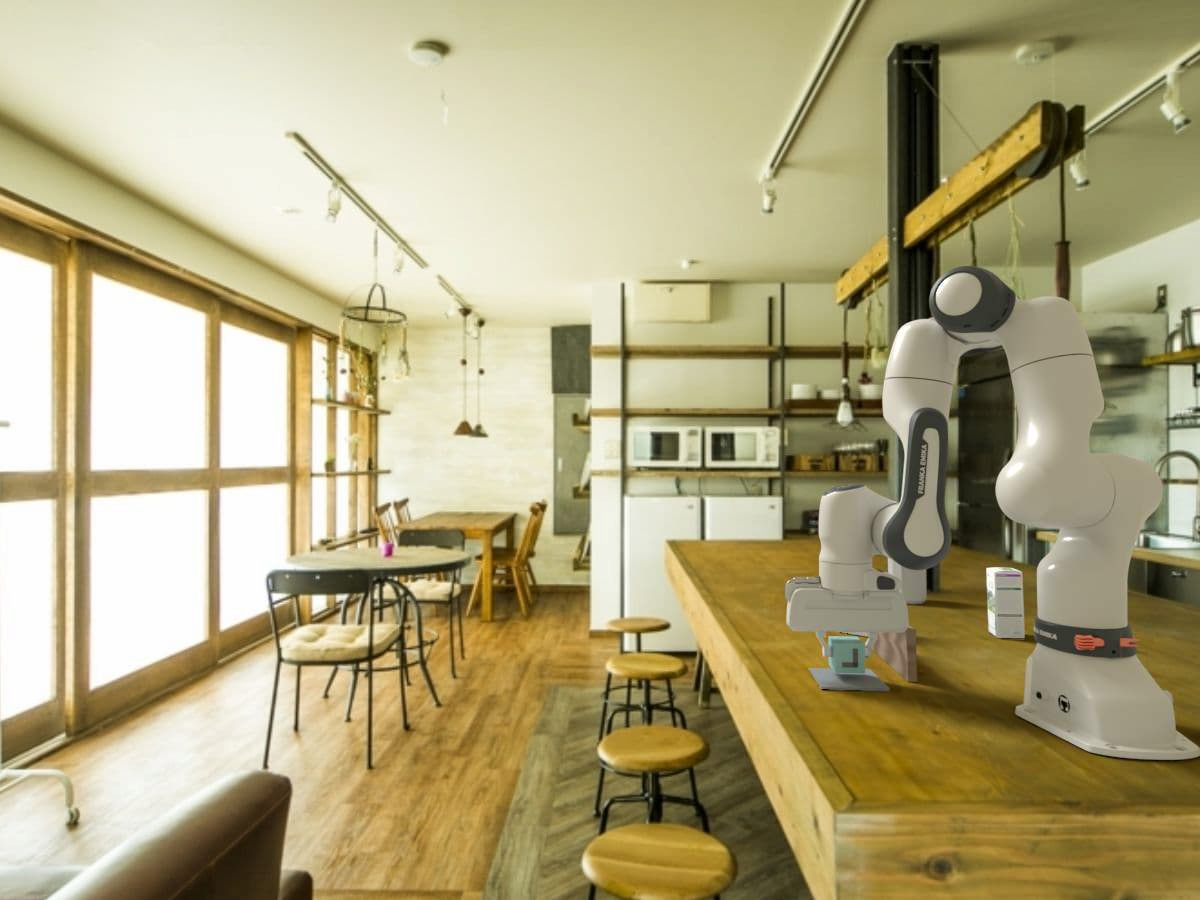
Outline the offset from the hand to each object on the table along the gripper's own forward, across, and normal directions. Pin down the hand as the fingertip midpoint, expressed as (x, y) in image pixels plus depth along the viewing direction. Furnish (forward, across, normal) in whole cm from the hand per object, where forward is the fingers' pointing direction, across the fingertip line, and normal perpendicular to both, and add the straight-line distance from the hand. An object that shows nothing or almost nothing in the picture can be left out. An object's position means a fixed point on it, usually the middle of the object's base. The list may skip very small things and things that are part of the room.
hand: (846, 656), depth 124 cm
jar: (+5, +33, +72) cm, 79 cm away
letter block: (+2, 0, 0) cm, 2 cm away
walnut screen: (+4, +11, +11) cm, 16 cm away
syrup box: (+4, +42, +34) cm, 54 cm away
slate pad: (+4, 0, 0) cm, 4 cm away
